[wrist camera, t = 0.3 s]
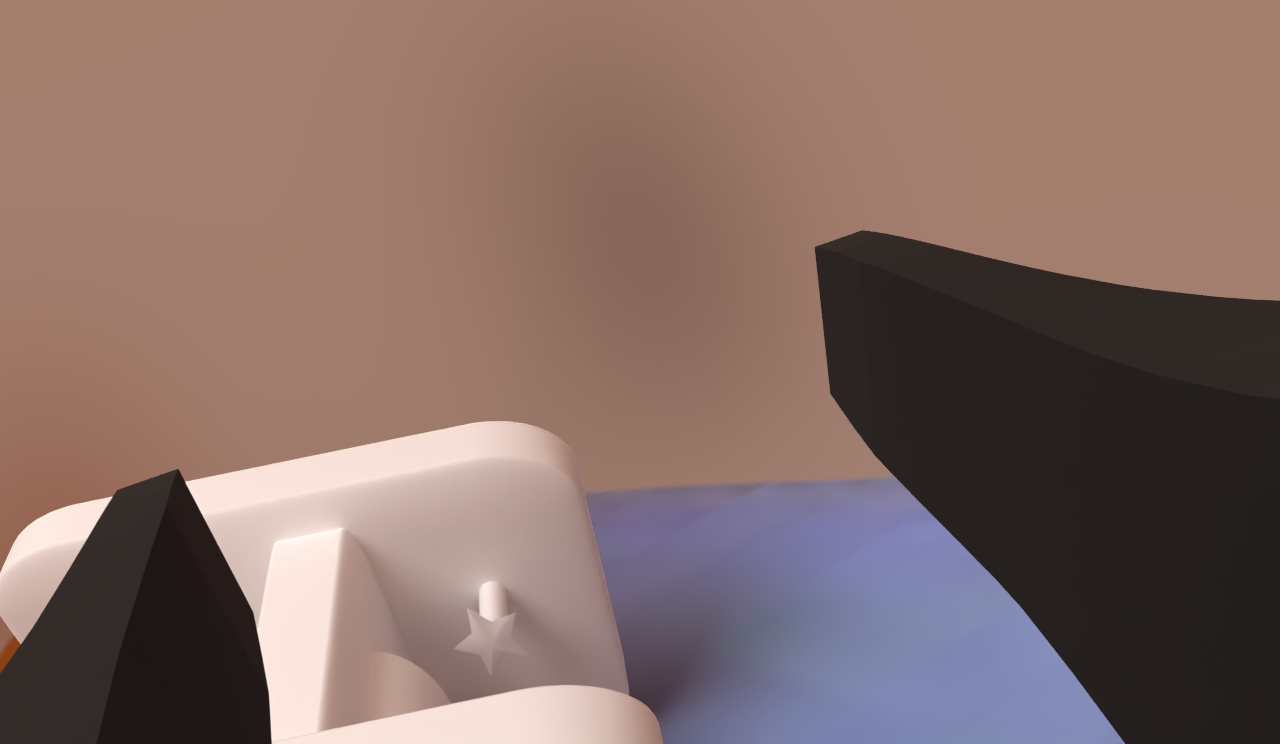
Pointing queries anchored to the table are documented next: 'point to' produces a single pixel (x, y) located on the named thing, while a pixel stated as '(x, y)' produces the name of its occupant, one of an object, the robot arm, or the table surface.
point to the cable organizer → (405, 591)
